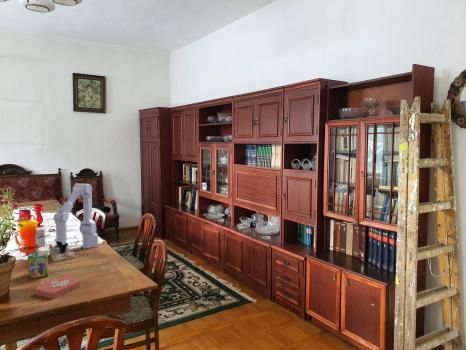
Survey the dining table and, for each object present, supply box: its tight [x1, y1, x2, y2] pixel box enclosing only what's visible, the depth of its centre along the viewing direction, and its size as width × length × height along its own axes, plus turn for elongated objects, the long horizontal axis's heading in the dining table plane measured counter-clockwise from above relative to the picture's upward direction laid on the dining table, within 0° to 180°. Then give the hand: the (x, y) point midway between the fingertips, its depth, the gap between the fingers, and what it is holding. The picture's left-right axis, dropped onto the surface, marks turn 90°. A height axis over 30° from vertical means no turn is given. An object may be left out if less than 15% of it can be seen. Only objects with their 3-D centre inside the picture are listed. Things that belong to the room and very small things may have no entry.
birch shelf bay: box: [48, 243, 77, 263], centre depth 230 cm, size 12×16×7 cm
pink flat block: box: [35, 276, 82, 299], centre depth 180 cm, size 18×4×15 cm
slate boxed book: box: [54, 245, 70, 255], centre depth 228 cm, size 7×4×6 cm, turn 126°
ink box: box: [36, 227, 46, 248], centre depth 252 cm, size 8×5×12 cm, turn 124°
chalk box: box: [27, 247, 49, 279], centre depth 198 cm, size 9×9×15 cm
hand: (62, 253), depth 228 cm, fingers closed on slate boxed book, 4 cm apart
